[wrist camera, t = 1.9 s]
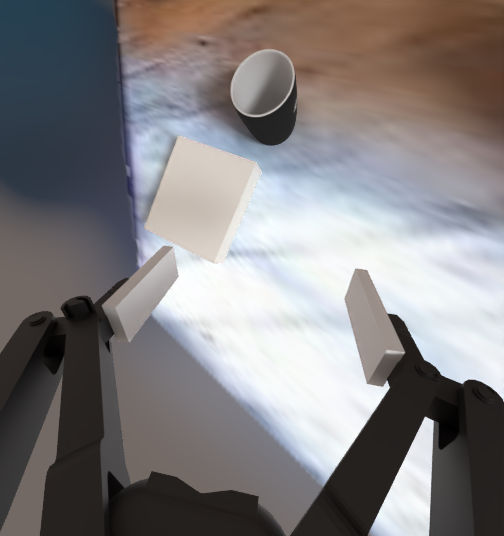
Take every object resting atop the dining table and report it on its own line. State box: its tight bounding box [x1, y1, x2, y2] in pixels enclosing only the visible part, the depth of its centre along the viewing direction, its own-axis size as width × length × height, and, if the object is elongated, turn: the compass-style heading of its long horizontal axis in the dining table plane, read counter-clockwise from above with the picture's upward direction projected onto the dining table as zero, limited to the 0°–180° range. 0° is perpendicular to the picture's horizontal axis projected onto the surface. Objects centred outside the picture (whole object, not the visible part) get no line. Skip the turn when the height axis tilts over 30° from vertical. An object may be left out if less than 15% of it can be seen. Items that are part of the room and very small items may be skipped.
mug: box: [230, 49, 297, 145], centre depth 35 cm, size 12×9×10 cm
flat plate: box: [144, 135, 262, 264], centre depth 42 cm, size 18×16×4 cm
